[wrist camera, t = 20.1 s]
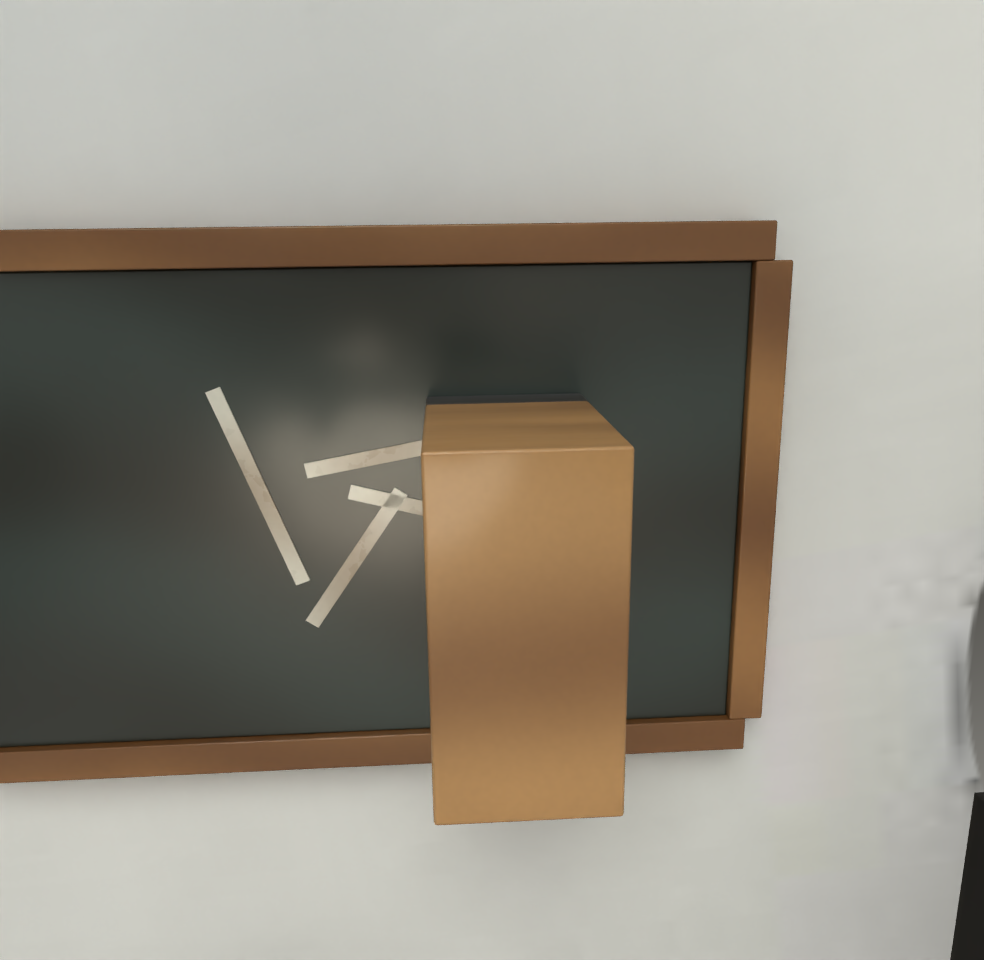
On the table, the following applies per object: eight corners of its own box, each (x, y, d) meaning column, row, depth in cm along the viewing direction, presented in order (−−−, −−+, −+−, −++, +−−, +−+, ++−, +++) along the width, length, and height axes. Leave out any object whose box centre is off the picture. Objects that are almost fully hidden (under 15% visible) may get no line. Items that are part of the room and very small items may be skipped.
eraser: (426, 396, 27) (420, 452, 20) (580, 392, 28) (635, 446, 20) (435, 679, 30) (433, 826, 22) (577, 673, 30) (624, 817, 22)
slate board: (-121, 233, 26) (-154, 231, 25) (778, 222, 28) (797, 220, 27) (-25, 761, 31) (-47, 786, 30) (745, 726, 33) (759, 748, 31)
